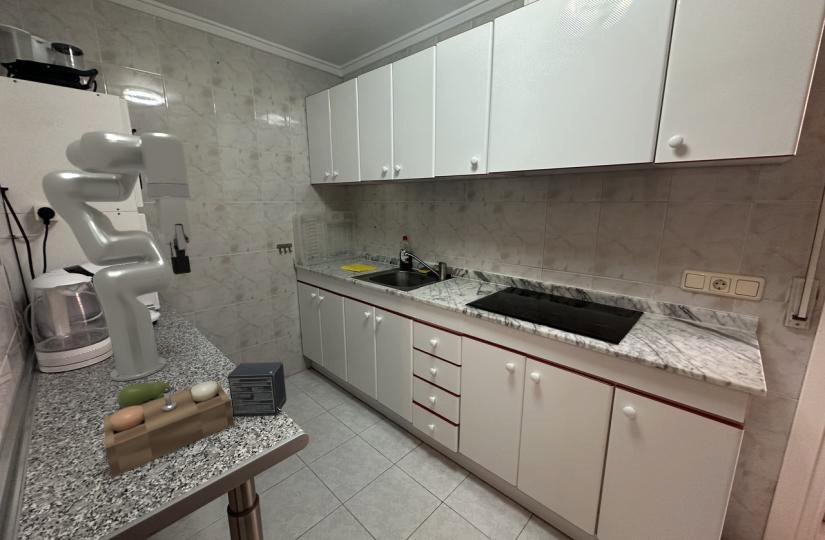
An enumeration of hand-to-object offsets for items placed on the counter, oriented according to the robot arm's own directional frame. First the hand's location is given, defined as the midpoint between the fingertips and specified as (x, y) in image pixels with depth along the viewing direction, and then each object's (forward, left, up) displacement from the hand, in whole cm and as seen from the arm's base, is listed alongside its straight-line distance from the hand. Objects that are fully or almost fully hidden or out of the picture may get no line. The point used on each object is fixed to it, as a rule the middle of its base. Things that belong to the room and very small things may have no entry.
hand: (182, 272), depth 76 cm
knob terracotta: (+12, -14, -31) cm, 36 cm away
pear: (-7, -10, -32) cm, 35 cm away
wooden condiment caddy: (+12, -8, -32) cm, 35 cm away
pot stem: (+12, -8, -26) cm, 30 cm away
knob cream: (+12, -1, -31) cm, 34 cm away
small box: (+16, +9, -32) cm, 37 cm away
